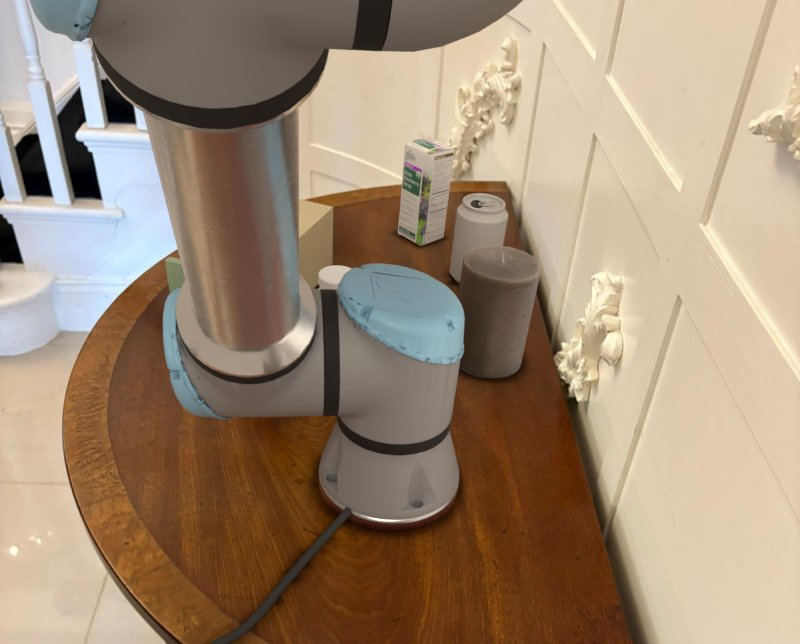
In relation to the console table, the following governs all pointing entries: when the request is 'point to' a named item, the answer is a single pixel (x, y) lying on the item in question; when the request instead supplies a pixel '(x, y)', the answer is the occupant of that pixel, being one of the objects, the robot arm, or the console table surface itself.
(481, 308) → the pillar candle
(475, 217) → the can
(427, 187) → the syrup box
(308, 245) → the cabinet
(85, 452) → the console table surface
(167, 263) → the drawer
